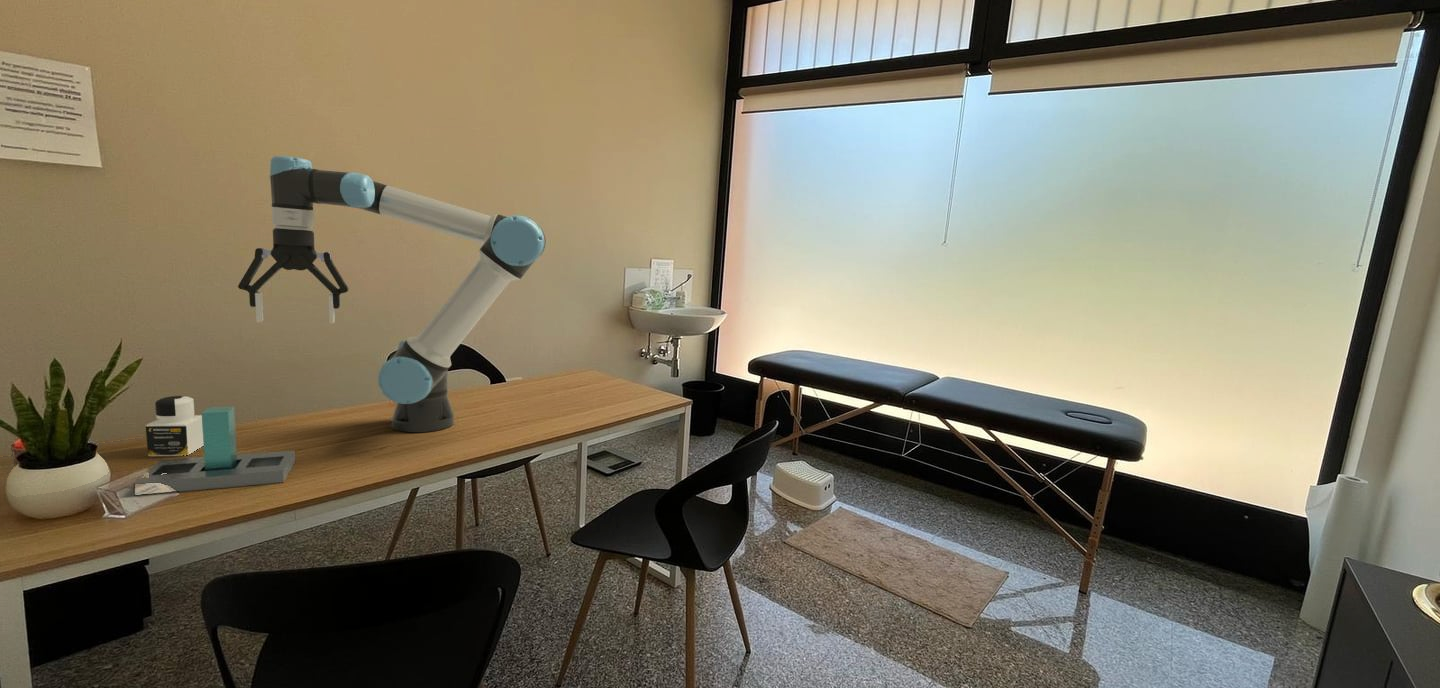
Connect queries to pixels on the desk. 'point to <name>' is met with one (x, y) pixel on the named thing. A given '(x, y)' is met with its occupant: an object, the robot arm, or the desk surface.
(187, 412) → the medicine bottle
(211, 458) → the peg
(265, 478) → the rail
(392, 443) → the desk surface
